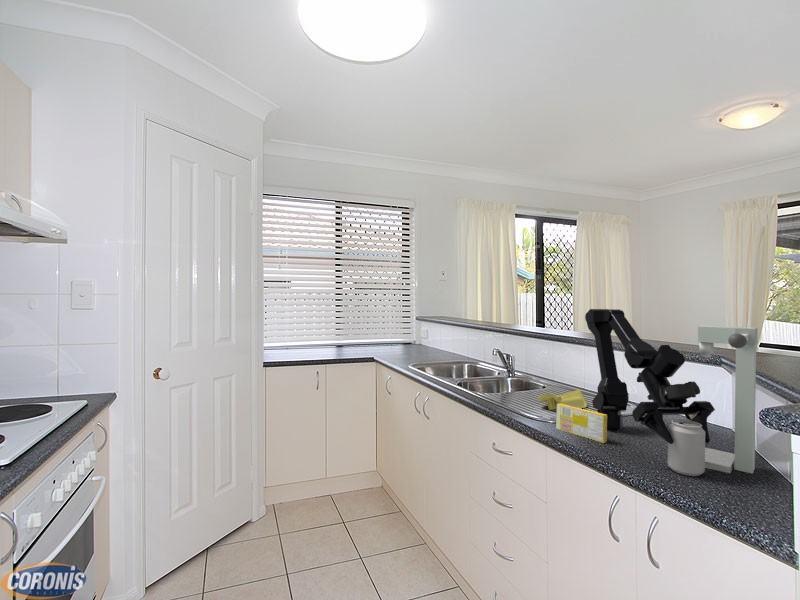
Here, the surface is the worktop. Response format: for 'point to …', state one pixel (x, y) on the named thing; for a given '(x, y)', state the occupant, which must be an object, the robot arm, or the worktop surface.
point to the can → (686, 447)
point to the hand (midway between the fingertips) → (690, 442)
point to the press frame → (738, 385)
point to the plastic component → (564, 399)
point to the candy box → (582, 422)
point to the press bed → (719, 460)
